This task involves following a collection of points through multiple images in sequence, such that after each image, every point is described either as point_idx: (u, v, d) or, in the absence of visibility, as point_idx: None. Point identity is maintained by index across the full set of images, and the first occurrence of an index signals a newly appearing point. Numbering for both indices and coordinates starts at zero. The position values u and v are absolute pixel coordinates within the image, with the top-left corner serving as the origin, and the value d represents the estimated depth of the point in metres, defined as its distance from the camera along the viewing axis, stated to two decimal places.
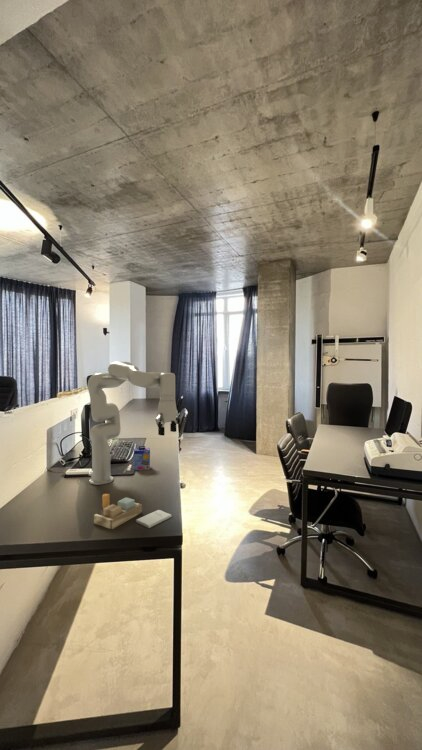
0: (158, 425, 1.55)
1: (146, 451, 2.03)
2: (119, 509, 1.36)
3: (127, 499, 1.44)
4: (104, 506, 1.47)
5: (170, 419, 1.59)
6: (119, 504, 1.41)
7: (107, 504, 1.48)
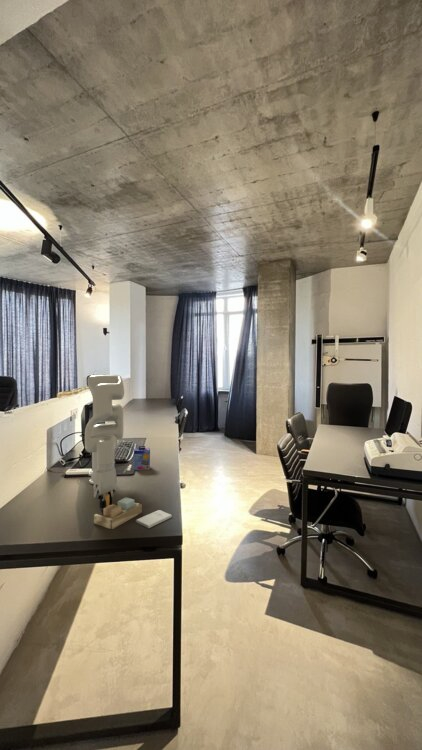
0: (99, 499, 1.46)
1: (146, 451, 2.03)
2: (119, 509, 1.36)
3: (127, 499, 1.44)
4: None
5: (108, 490, 1.47)
6: (119, 504, 1.41)
7: (107, 504, 1.48)
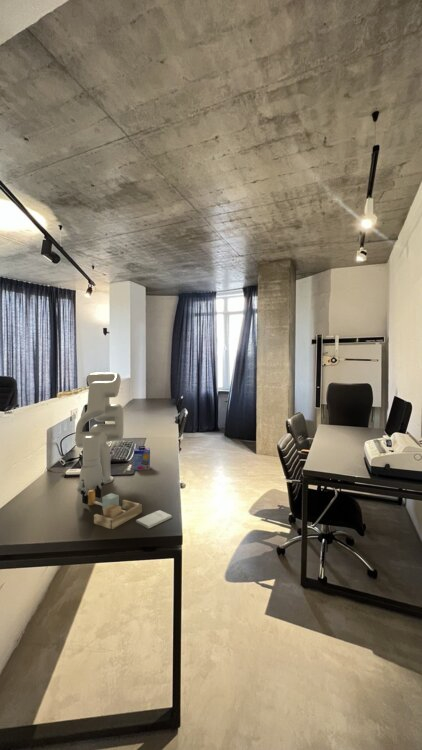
0: (81, 493, 1.48)
1: (146, 451, 2.03)
2: (119, 509, 1.36)
3: (112, 495, 1.48)
4: (90, 502, 1.52)
5: (94, 484, 1.51)
6: (104, 500, 1.46)
7: (93, 500, 1.52)
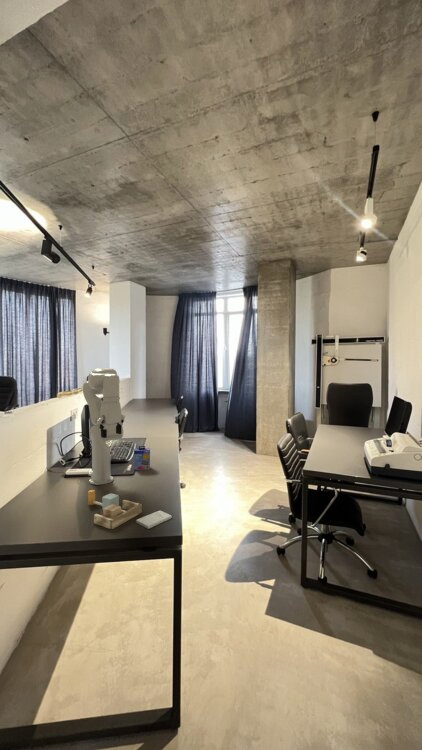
0: (100, 427, 1.54)
1: (146, 451, 2.03)
2: (119, 509, 1.36)
3: (112, 495, 1.48)
4: (90, 502, 1.52)
5: (113, 421, 1.58)
6: (104, 500, 1.46)
7: (93, 500, 1.52)
